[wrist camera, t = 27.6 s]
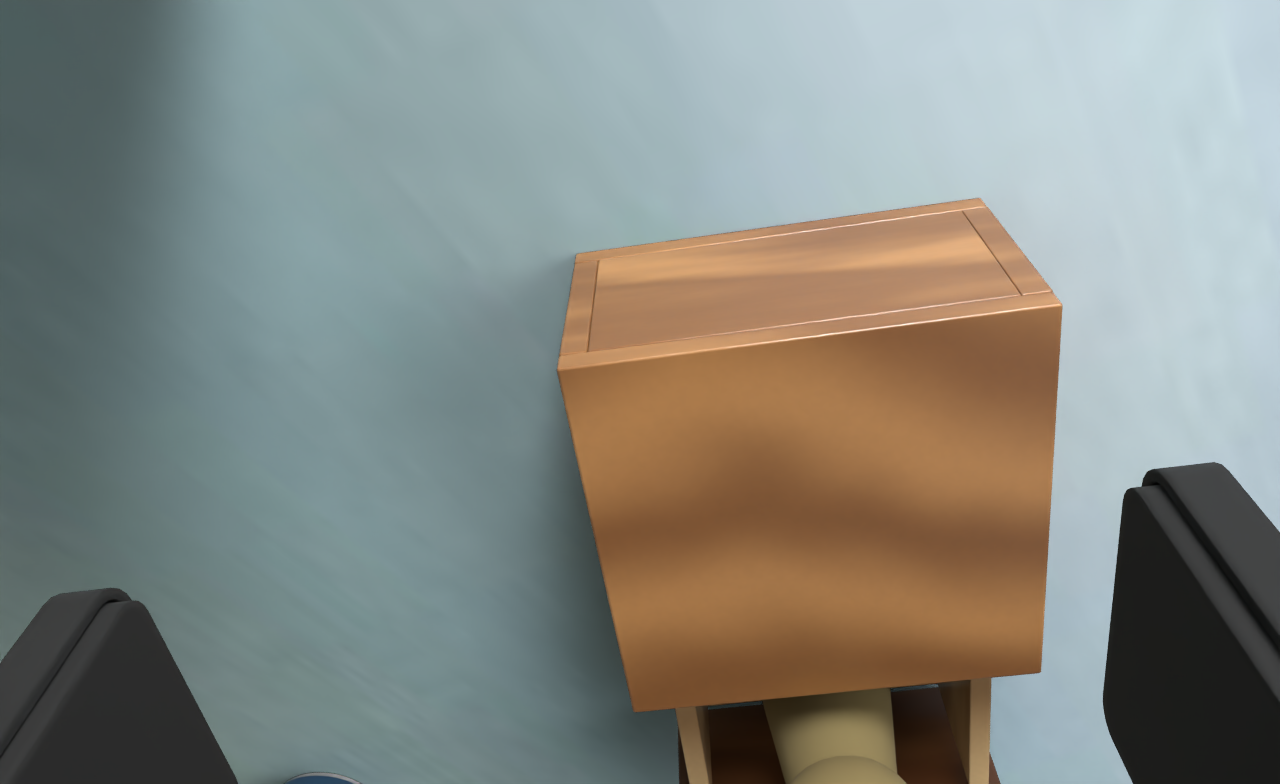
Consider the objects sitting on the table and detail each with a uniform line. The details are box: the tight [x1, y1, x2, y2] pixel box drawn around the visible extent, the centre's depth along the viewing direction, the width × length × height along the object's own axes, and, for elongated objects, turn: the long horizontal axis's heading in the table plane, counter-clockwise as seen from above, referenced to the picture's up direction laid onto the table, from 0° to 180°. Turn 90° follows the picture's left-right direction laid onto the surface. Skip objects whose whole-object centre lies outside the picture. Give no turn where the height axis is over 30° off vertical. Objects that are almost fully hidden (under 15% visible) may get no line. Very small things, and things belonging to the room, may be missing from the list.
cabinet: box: [557, 198, 1062, 712], centre depth 38 cm, size 15×15×9 cm
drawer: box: [675, 678, 1000, 784], centre depth 45 cm, size 20×14×7 cm
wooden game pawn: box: [762, 688, 907, 784], centre depth 41 cm, size 6×6×11 cm
